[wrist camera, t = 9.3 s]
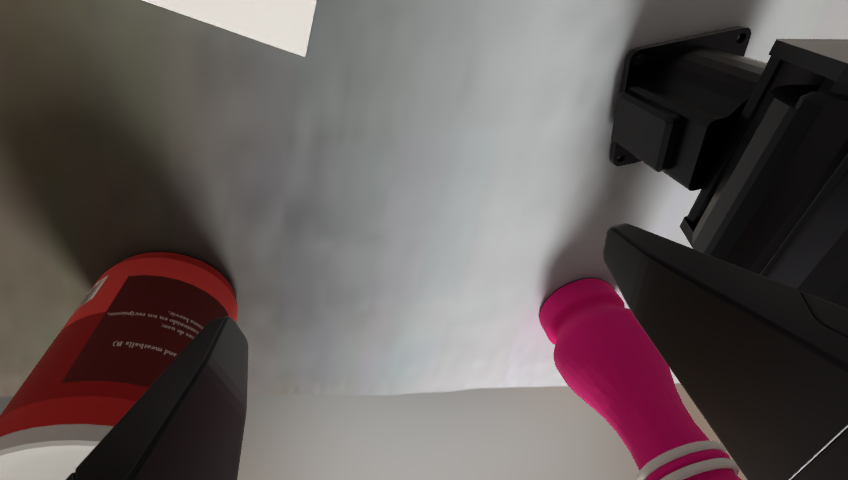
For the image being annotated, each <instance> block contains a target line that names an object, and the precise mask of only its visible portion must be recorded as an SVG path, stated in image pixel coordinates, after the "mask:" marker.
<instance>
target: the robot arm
mask: <svg viewBox="0 0 848 480" xmlns="http://www.w3.org/2000/svg"><path fill="white" fill-rule="evenodd" d="M739 35H740V36H739ZM738 36H739V38H738ZM750 36H751V30H750V29H749V28H747V27H742V26H737V27H733V28H728V29H723V30H718V31H714V32H709V33H704V34H699V35H694V36H690V37H685V38H680V39H675V40H671V41H666V42H661V43H656V44H652V45H647V46H642V47H637V48H634V49H632V50H631V51H630V52H629V53H628V55H627V56H626V59H625V65H624V71H623V77H622V84H621V90H620V95H619V97H618V101H617V107H616V113H615V120H614V126H613V132H612V139H613V140H612V146H611V152H610V161H611V162H612V163H613V164H614V165H616V166H622V165H627V164H631V163H635V162H640V161H643V162H644V163H645V164H647V165H648V166H650V167H651V168H652V169H654V170H655V171H657V172H661V171H663V172H664V173H666V174H667V175H669V176H670V177H671V178H673V179H674V180H676V181H677V182H679V183H680V184H681V185H683V186H684V187H686V188H687V189H689V190H690V191H694V190H698V189H701V191H700V193H699V195H698V197H697V199H696V201H695V203H694V205H693V207H692V209H691V210H690V212H689V214H688V216H686V217H684V219H683V221H682V223H681V225H680V228H681V229H682V231H683V233H684V234H685V236H686V238H687V239H688V241H689V243H690V244H691V246H692V247H693V249H692V248H689V247H687V246H684V245H682V244H679V243H676V242H674V241H671V240H669V239H666V238H664V237H661V236H658V235H656V234H653V233H651V232H648V231H645V230H643V229H640V228H638V227H635V226H633V225H630V224H620V225H616V226H612V227H610V228H609V229H608V230H607V234H606V240H605V245H604V251H603V257H604V261H605V263H606V265H607V267H608V269H609V271H610V273H611V275H612V276H613V278H614V280H615V282H616V284H617V286H618V288H619V289H620V291H621V293H622V295H623V297H624V299H625V301H626V302H627V304H628V306H629V308H630V310H631V311H632V313H633V315H634V316H635V318H636V319H637V321H638V322H639V324H640V325H641V327H642V328H643V330H644V331H645V333H646V334H647V335H648V337H649V338H650V340H651V341H652V343H653V344H654V346H655V347H656V348H657V350H658V351H659V353H660V354H661V356H662V357H663V359H664V360H665V361H666V363H667V364H668V366H669V367H670V369H671V370H672V372H673V373H674V374H675V376H676V377H677V379H678V380H679V382H680V383H681V385H682V386H683V387H684V389H685V390H686V392H687V393H688V395H689V396H690V398H691V399H692V400H693V402H694V403H695V405H696V406H697V408H698V409H699V410H700V412H701V413H702V415H703V416H704V418H705V419H706V421H707V422H708V424H709V425H710V427H711V428H712V429H713V431H714V432H715V434H716V435H717V436H718V438H719V439H720V441H721V442H722V444H723V445H724V447H725V448H726V450H727V451H728V452H729V454H730V455H731V457H732V458H733V460H734V461H735V463H736V464H737V466H738V467H739V468H740V470H741V471H742V473H743V474H744V476H745V477H746V478H747V480H848V40H839V39H776V41H775V43H774V45H773V47H772V49H771V51H770V53H769V55H771V57H770V59H769V61H768V63H764V62H761V61H757V60H753V59H750V58H746V57H744V54H745V51H746V48H747V45H748V42H749V39H750ZM737 38H738V40H737ZM736 40H737V41H736ZM638 55H639V59H638V61H637V62H636V63H634V61H635V58H636V57H637V56H638ZM620 155H621V157H620V158H619V159H618V157H619V156H620ZM247 380H248V342H247V339H246V337H245V336H244V334H243V333H242V331H241V330H240V328H239V327H238V325H237V324H236V323H235V321H234V320H233V319H232V318H231V317H229V316H225V317H221V318H217V319H213V320H211V321H209V322H208V323H207V324H206V325H205V326H204V328H203V329H202V330H201V331H200V332H199V333H198V334H197V335H196V336H195V337H194V339H193V340H192V341H191V342H190V343H189V344H188V345H187V346H186V347H185V349H184V350H183V351H182V352H181V353H180V354H179V355H178V356H177V357H176V358H175V360H174V361H173V362H172V363H171V364H170V365H169V366H168V367H167V368H166V369H165V371H164V372H163V373H162V374H161V375H160V376H159V377H158V378H157V379H156V381H155V382H154V383H153V384H152V385H151V386H150V387H149V388H148V389H147V390H146V392H145V393H144V394H143V395H142V396H141V397H140V398H139V399H138V400H137V401H136V403H135V404H134V405H133V406H132V407H131V408H130V409H129V410H128V411H127V413H126V414H125V415H124V416H123V417H122V418H121V419H120V420H119V421H118V422H117V424H116V425H115V426H114V427H113V428H112V429H111V430H110V431H109V432H108V433H107V435H106V436H105V437H104V438H103V439H102V440H101V441H100V442H99V443H98V444H97V446H96V447H95V448H94V449H93V450H92V451H91V452H90V453H89V454H88V456H87V457H86V458H85V459H84V460H83V461H82V462H81V463H80V464H79V465H78V467H77V468H76V469H75V472H74V473H71V474H70V475H69V476H68V477H67V479H66V480H237V476H238V469H239V462H240V455H241V447H242V440H243V433H244V426H245V419H246V408H247Z"/></svg>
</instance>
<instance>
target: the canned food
mask: <svg viewBox="0 0 848 480" xmlns="http://www.w3.org/2000/svg"><path fill="white" fill-rule="evenodd" d="M225 316H229V317H231V318H232V319H233V320H234V321H235V323H236V319H237V302H236V297H235V294H234V290H233V289H232V287H231V285H230V283H229V282H228V281H227V280H226V278H225V277H224V276H223V275H222V274H221V273H219V272H218V271H217V270H216V269H214V268H213V267H211V266H210V265H208V264H206V263H204V262H202V261H200V260H197V259H195V258H192V257H190V256H185V255H181V254H177V253H168V252H150V253H143V254H139V255H134V256H132V257H129V258H127V259H124V260H123V261H121V262H119V263H118V264H116V265H115V266H113V267H112V268H110V269H109V270H107V271H106V272H105V273H103V275H102V276H101V277H100V278H99V279H98V280H97V282H96V283H95V284H94V286H93V287H92V289H91V290H90V291H89V293H88V294H87V295H86V297H85V298H84V300H83V301H82V302H81V304H80V305H79V307H78V308H77V309H76V311H75V312H74V314H73V315H72V316H71V318H70V319H69V321H68V322H67V323H66V325H65V326H64V327H63V329H62V330H61V332H60V333H59V334H58V336H57V337H56V339H55V340H54V341H53V343H52V344H51V346H50V347H49V348H48V350H47V351H46V352H45V354H44V355H43V357H42V358H41V359H40V361H39V362H38V364H37V365H36V366H35V368H34V369H33V371H32V372H31V373H30V375H29V376H28V378H27V379H26V380H25V382H24V383H23V384H22V386H21V387H20V389H19V390H18V391H17V393H16V394H15V396H14V397H13V398H12V400H11V401H10V403H9V404H8V405H7V407H6V408H5V410H4V411H3V412H2V414H1V415H0V480H66V479H67V477H68V476H69V475H70V474H71V473H74V472H75V469H76V468H77V467H78V465H79V464H80V463H81V462H82V461H83V460H84V459H85V458H86V457H87V456H88V454H89V453H90V452H91V451H92V450H93V449H94V448H95V447H96V446H97V444H98V443H99V442H100V441H101V440H102V439H103V438H104V437H105V436H106V435H107V433H108V432H109V431H110V430H111V429H112V428H113V427H114V426H115V425H116V424H117V422H118V421H119V420H120V419H121V418H122V417H123V416H124V415H125V414H126V413H127V411H128V410H129V409H130V408H131V407H132V406H133V405H134V404H135V403H136V401H137V400H138V399H139V398H140V397H141V396H142V395H143V394H144V393H145V392H146V390H147V389H148V388H149V387H150V386H151V385H152V384H153V383H154V382H155V381H156V379H157V378H158V377H159V376H160V375H161V374H162V373H163V372H164V371H165V369H166V368H167V367H168V366H169V365H170V364H171V363H172V362H173V361H174V360H175V358H176V357H177V356H178V355H179V354H180V353H181V352H182V351H183V350H184V349H185V347H186V346H187V345H188V344H189V343H190V342H191V341H192V340H193V339H194V337H195V336H196V335H197V334H198V333H199V332H200V331H201V330H202V329H203V328H204V326H205V325H206V324H207V323H208V322H209V321H211V320H213V319H217V318H221V317H225Z"/></svg>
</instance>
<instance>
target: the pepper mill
mask: <svg viewBox="0 0 848 480" xmlns="http://www.w3.org/2000/svg"><path fill="white" fill-rule="evenodd" d="M540 323H541V325H542V327H543V329H544V331H545V333H546V335H547V337H548V338H549V340H550V341H551V342H552V343H553V344H555V349H554V361H555V365H556V367H557V369H558V371H559V372H560V374H561V376H562V377H563V379H564V380H565V382H566V383H567V384H568V386H569V387H570V388H571V389H572V390H573V391H574V392H575V393H576V394H577V395H578V396H579V397H581V398H582V399H583V400H584V401H585V402H586V403H588V404H589V405H590V406H591V407H592V408H594V409H595V410H596V411H597V412H598V413H599V414H600V415H601V416H603V417H604V418H605V419H606V420H607V422H608V423H609V424H610V425H611V426H612V427H613V428H614V429H615V431H616V432H617V433H618V434H619V436H620V438H621V439H622V440H623V442H624V443H625V445H626V446H627V448H628V449H629V451H630V452H631V454H632V456H633V458H634V460H635V462H636V464H637V466H638V468H639V470H640V471H639V473H638V475H637V480H741V479H740V478H739V477H738V476H737V475H738V472H739V467H738V466H737V464H736V463H735V461H734V460H731V459H730V457H729V455H728V454H727V453H726V449H725V447H724V446H723V445H722V444H721V443H719V442H716V441H710V440H709V439H708V438H707V437H706V435H705V434H704V433H703V432H702V431H701V430H700V428H699V427H698V426H697V425H696V424H695V423H694V421H693V419H692V418H691V416H690V414H689V413H688V411H687V410H686V408H685V407H684V405H683V403H682V401H681V399H680V396H679V394H678V392H677V390H676V387H675V384H674V381H673V378H672V375H671V372H670V368H669V366H668V364H667V363H666V361H665V360H664V359H663V357H662V356H661V354H660V353H659V351H658V350H657V348H656V347H655V346H654V344H653V343H652V341H651V340H650V338H649V337H648V335H647V334H646V333H645V331H644V330H643V328H642V327H641V325H640V324H639V322H638V321H637V319H636V318H635V316H634V315H633V313H632V311H631V310H630V309H627V308H625V307H624V303H623V301H622V299H621V298H620V297H619V295H618V294H617V293H616V292H615V290H614V289H613V288H612V286H611V285H610V284H608V283H607V282H605V281H603V280H600V279H592V278H591V279H581V280H578V281H575V282H571V283H569V284H567V285H565V286H563V287H561V288H560V289H558V290H557V291H556V292H554V293H553V294H552V295H551V296H550V297H549V298H548V299H547V300H546V301H545V303H544V305H543V307H542V308H541V311H540Z"/></svg>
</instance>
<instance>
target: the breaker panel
mask: <svg viewBox="0 0 848 480" xmlns="http://www.w3.org/2000/svg"><path fill="white" fill-rule="evenodd" d="M143 1H146V2H149V3H152V4H154V5H157V6H160V7H163V8H166V9H169V10H172V11H175V12H177V13H180V14H183V15H186V16H189V17H192V18H195V19H197V20H200V21H203V22H206V23H209V24H212V25H215V26H217V27H220V28H223V29H226V30H229V31H232V32H235V33H237V34H240V35H243V36H246V37H249V38H252V39H255V40H258V41H260V42H263V43H266V44H269V45H272V46H275V47H278V48H280V49H283V50H286V51H289V52H292V53H295V54H298V55H300V56H303V57H305V55H306V51H307V46H308V41H309V36H310V31H311V27H312V22H313V17H314V12H315V7H316V2H317V0H143Z"/></svg>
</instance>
